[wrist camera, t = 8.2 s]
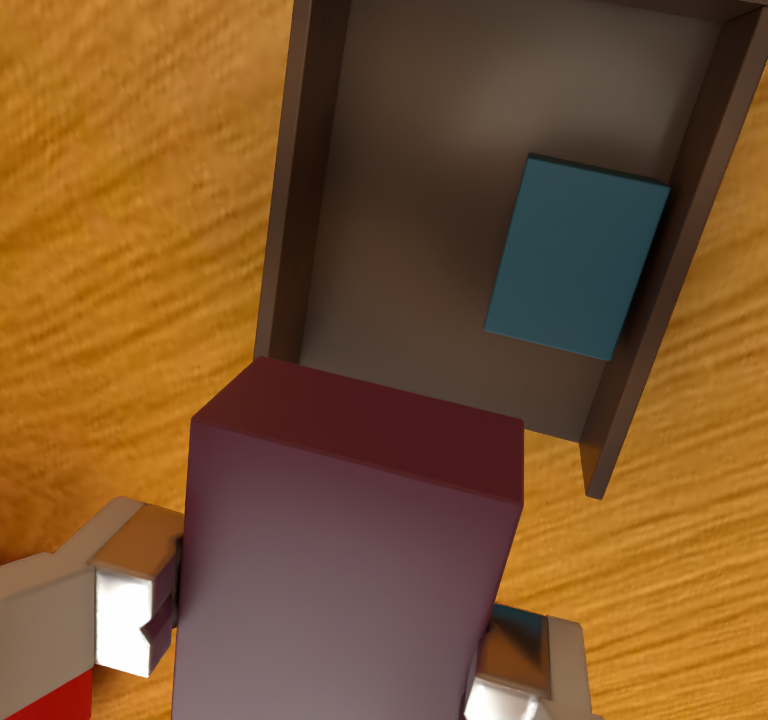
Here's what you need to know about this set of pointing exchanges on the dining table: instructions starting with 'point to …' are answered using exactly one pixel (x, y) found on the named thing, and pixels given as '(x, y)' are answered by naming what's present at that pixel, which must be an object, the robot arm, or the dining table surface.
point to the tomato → (62, 702)
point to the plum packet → (339, 548)
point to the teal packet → (574, 255)
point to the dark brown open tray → (489, 187)
